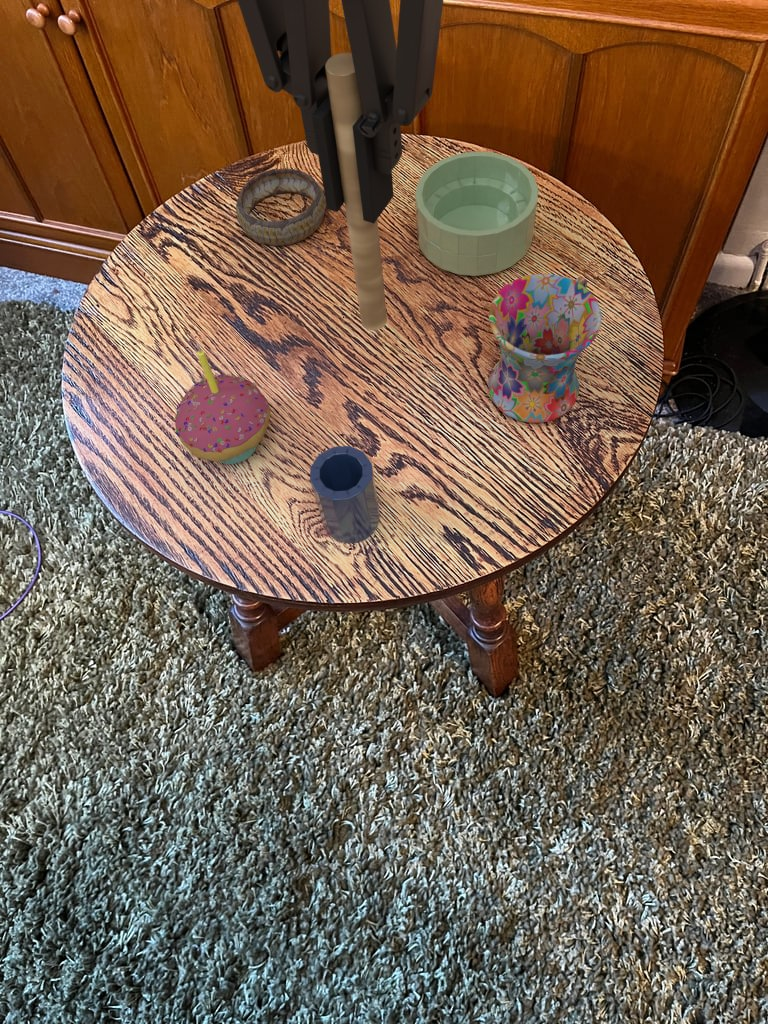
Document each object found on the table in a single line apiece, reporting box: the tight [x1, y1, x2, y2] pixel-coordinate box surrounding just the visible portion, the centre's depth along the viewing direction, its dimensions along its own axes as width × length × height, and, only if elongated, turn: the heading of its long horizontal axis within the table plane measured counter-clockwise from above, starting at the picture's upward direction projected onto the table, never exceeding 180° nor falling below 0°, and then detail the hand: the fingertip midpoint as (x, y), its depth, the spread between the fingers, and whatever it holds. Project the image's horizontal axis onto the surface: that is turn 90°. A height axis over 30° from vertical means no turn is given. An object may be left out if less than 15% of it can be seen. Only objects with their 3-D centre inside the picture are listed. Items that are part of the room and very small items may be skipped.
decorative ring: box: [235, 167, 327, 247], centre depth 86 cm, size 10×3×10 cm
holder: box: [309, 445, 381, 544], centre depth 65 cm, size 5×5×8 cm
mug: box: [487, 273, 602, 424], centre depth 69 cm, size 12×9×11 cm
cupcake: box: [174, 342, 272, 465], centre depth 68 cm, size 9×8×12 cm
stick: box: [325, 52, 388, 331], centre depth 50 cm, size 2×2×20 cm
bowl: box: [414, 150, 540, 277], centre depth 81 cm, size 12×12×6 cm
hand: (360, 202), depth 49 cm, fingers closed on stick, 2 cm apart
